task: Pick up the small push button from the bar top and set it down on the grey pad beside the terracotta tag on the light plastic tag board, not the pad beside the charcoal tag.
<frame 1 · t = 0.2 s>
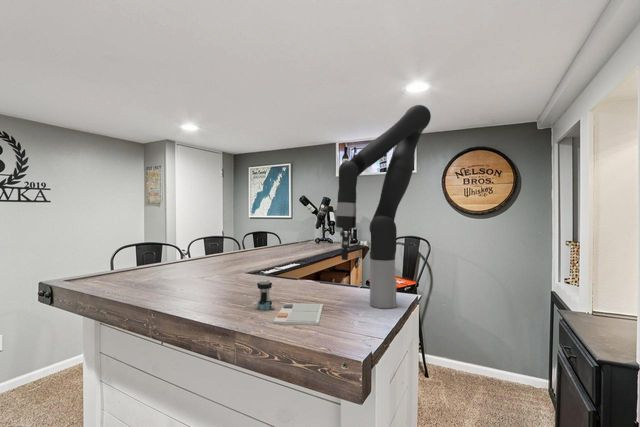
hand: (344, 258, 116), 17 cm above the table, tool pointing down, fingers open, 8 cm apart
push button: (266, 309, 110), on the table
tag board: (300, 314, 104), on the table
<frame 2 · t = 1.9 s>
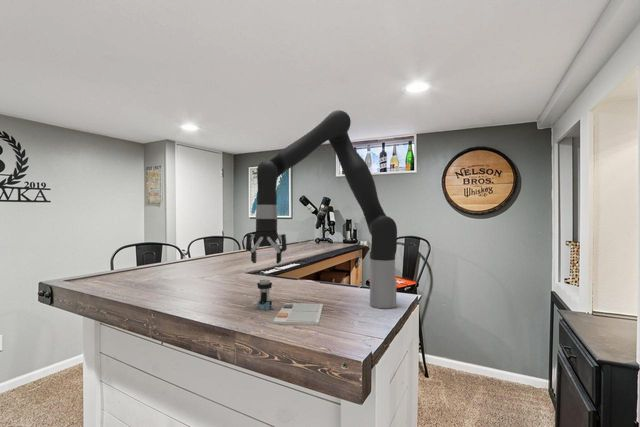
hand: (266, 263, 110), 16 cm above the table, tool pointing down, fingers open, 8 cm apart
nothing on the table moved.
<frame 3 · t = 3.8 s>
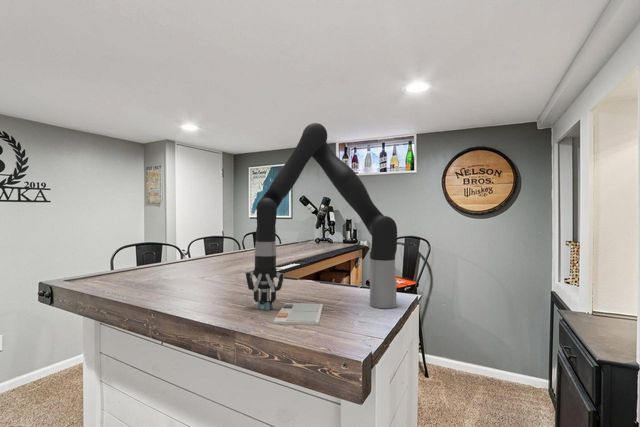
hand: (264, 301, 110), 3 cm above the table, tool pointing down, fingers closed on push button, 5 cm apart
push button: (266, 309, 110), on the table, touching gripper
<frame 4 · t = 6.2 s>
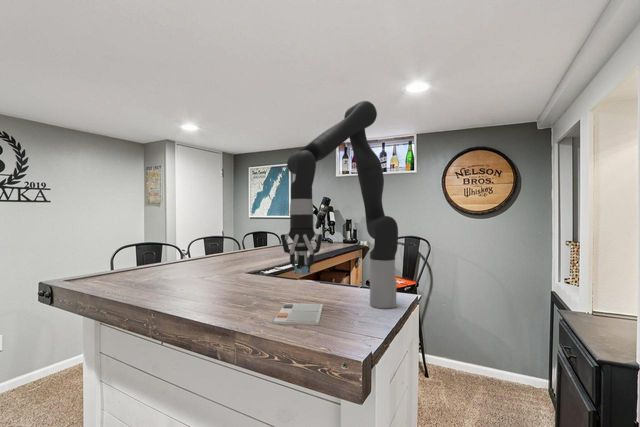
hand: (302, 265, 100), 17 cm above the table, tool pointing down, fingers closed on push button, 5 cm apart
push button: (304, 274, 100), point 14 cm above the table, touching gripper
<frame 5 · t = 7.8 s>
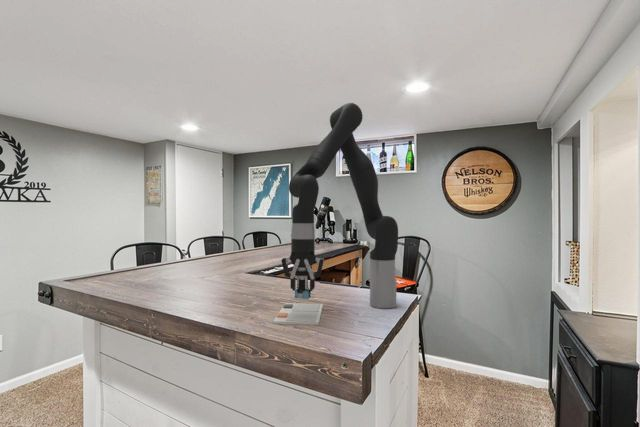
hand: (302, 290, 99), 9 cm above the table, tool pointing down, fingers closed on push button, 5 cm apart
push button: (304, 298, 99), point 7 cm above the table, touching gripper
when the fingers open (5 cm above the table, at t = 9.1 s): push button drops 1 cm, resting on tag board.
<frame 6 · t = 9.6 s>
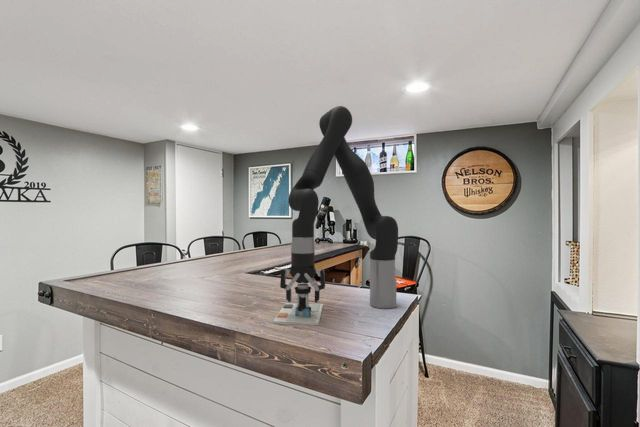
hand: (302, 301, 99), 6 cm above the table, tool pointing down, fingers open, 8 cm apart
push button: (304, 316, 99), point 1 cm above the table, touching tag board
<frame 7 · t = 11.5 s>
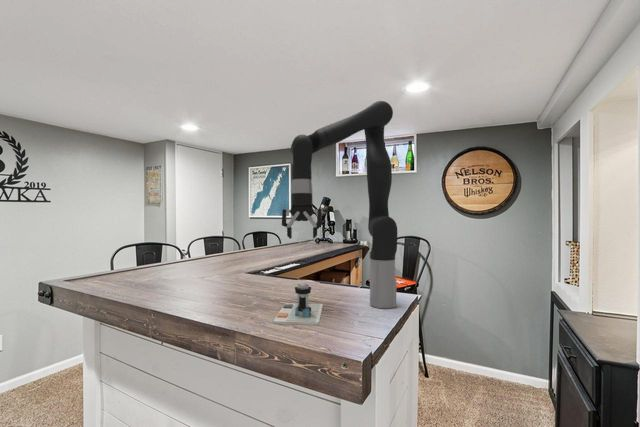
hand: (302, 238, 110), 25 cm above the table, tool pointing down, fingers open, 8 cm apart
nothing on the table moved.
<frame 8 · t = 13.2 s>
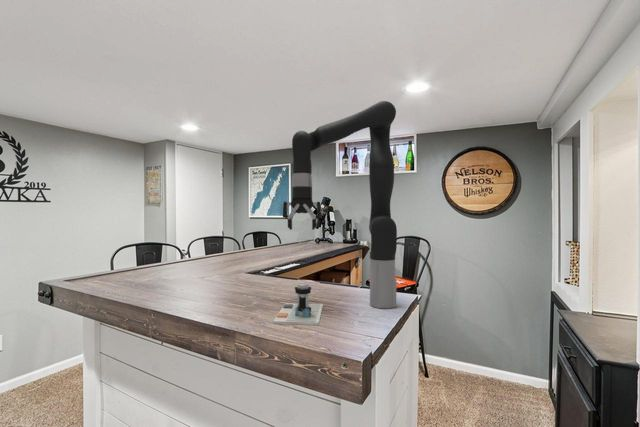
hand: (302, 229, 116), 28 cm above the table, tool pointing down, fingers open, 8 cm apart
nothing on the table moved.
at the end: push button inside the target area (0.7 cm from its centre), point 0.8 cm above the table; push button tilted 0°; the gripper is holding nothing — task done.
